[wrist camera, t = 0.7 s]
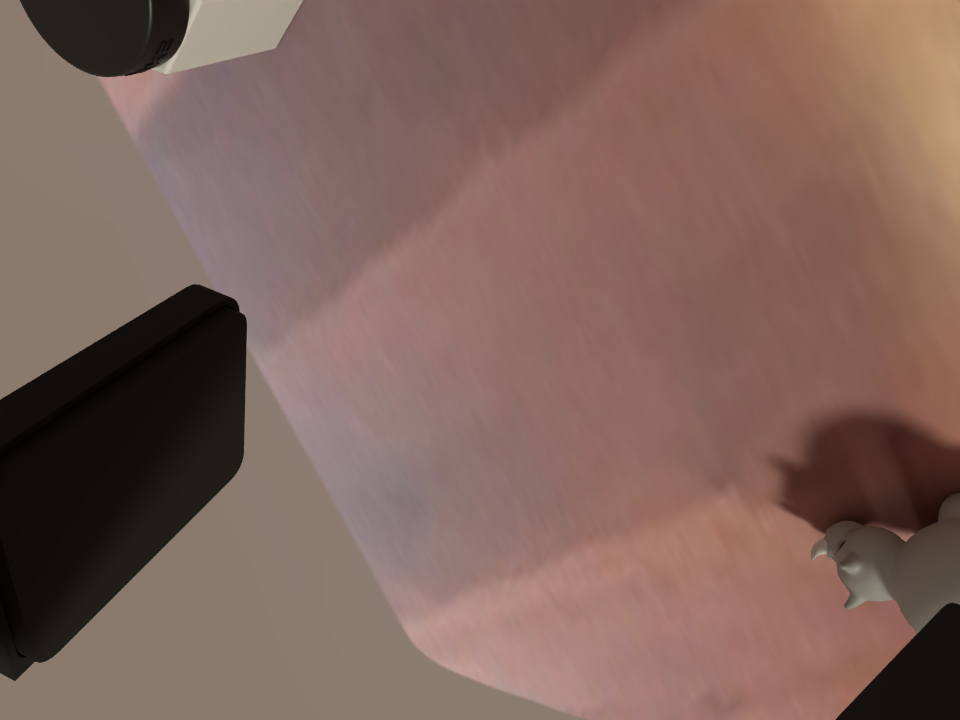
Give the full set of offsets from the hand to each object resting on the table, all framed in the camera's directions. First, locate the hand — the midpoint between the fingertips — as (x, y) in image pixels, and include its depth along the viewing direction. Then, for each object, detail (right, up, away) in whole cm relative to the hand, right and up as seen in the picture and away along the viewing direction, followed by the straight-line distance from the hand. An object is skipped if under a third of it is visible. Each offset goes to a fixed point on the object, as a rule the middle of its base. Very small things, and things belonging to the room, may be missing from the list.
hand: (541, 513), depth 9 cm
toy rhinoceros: (+26, -8, +34) cm, 43 cm away
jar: (-14, +25, +32) cm, 43 cm away
